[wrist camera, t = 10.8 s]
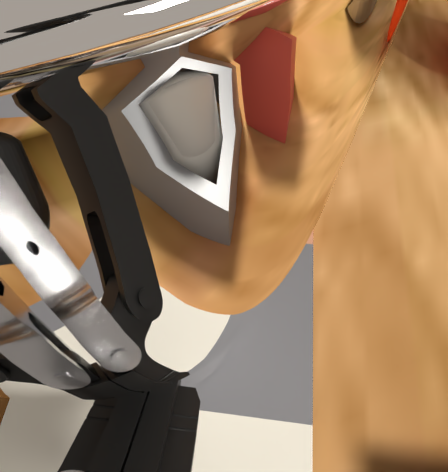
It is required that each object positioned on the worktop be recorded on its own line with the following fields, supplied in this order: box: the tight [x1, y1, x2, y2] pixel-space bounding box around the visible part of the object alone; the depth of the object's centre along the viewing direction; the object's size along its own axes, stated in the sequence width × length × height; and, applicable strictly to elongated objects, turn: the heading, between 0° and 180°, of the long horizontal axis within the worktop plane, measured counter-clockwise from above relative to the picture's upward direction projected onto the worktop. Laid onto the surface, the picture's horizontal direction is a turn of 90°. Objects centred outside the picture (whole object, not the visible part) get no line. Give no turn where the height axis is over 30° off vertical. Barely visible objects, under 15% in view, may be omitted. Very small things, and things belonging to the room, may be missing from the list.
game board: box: [0, 231, 313, 472], centre depth 16 cm, size 12×28×1 cm, turn 173°
